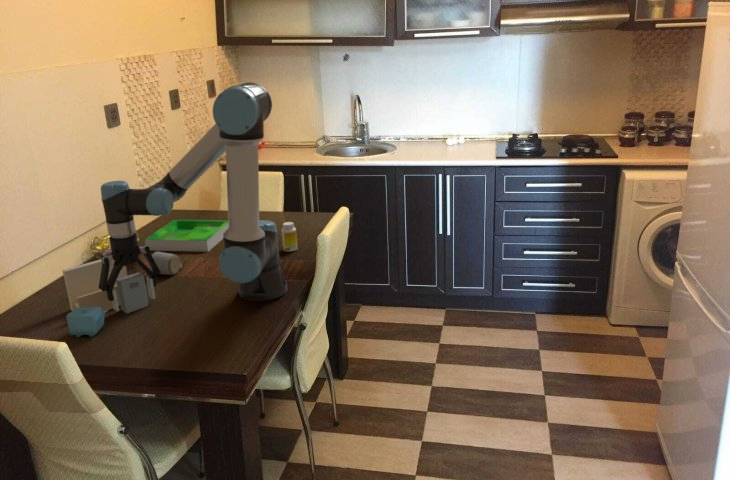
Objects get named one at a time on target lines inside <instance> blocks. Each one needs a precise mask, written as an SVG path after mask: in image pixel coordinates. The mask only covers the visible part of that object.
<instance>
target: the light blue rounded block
mask: <svg viewBox="0 0 730 480" xmlns="http://www.w3.org/2000/svg"><path fill="white" fill-rule="evenodd" d="M109 310H110V309H109ZM109 310H104V311H102V308H101V307H81V308H75V309H74V310H73V311H72V310H71V311H70V312H68V313H67V315H66V317H65V319H66V323H67V327H68V330H69V331H68V333H69V336H75V337H76V338H81V337H82V336H87V335H88V337H95V335H97V334H98V332H99V331H100V330H101V329H102V328H103V327H104V325H105V315H106V314H107V312H109Z"/></svg>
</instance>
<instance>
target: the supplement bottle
mask: <svg viewBox="0 0 730 480" xmlns="http://www.w3.org/2000/svg"><path fill="white" fill-rule="evenodd" d="M280 233H281V242H282V250H283V251H284V252H294V251H297V250H298V248H299V247H298V245H299V244H298V237H297V236H298V235H297V228H296V227H295V224H294V222H292V221H287V222H286V221H285V222H284V223H282V228H281V232H280Z"/></svg>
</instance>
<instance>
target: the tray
mask: <svg viewBox="0 0 730 480" xmlns="http://www.w3.org/2000/svg"><path fill="white" fill-rule="evenodd" d="M227 229H228V219H226V220H225V219H223V220H221V219H218V220H217V219H173V220H171V221H170V222H168V223H167V224H165V225H164V226H162V227H161V228H159V229H158V230H156V231H154V233H152V234H151V235H149V236H148V237H146V238H144V242H145V243H144V244H145V245H146V246H148V247H149V248H150V251H154V252H161V251H162V252H164V251H165V252H204V253H205V252H210V251H211V250H212V249H213V248H214V247H215V246H217V245H218V244H219V243H220V242H221V241H223V233H224V232H225V231H226V230H227Z"/></svg>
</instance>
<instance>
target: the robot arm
mask: <svg viewBox="0 0 730 480" xmlns="http://www.w3.org/2000/svg"><path fill="white" fill-rule="evenodd" d="M272 108H273V102H272V97H271V95H270V93H269V92H268V90H267V89H266V88H265V87H264V86H262V85H260V84H258V83H257V82H244V83H241V84H238V85H232V86H229V87H228V88H226V89H224V90H222V91H221V92H220V93H219V94H218V95H217V97H216V98H215V100H214V102H213V105H212V117H213V118H212V119H213V120H214V123H215V124H214V125H212V126H211V128H210V129H209V130H208V131H207V132H206V133H205V134H204V135H203V136H202V137H201V138H200V139H199V140H198V141H197V142H196V144H194V145H193V146H192V147H191V149H190V150H188V151H187V153H185V154H184V156H183V157H181V159H180V160H179V161H178V162H177V163H175V165H174V166H173V167H172V168H171V169H170V170H169V171H168V172H167V173H166V174H165V175H164V177H162V179H160V180H159V181H158V182H155V183H154V184H152V185H150V186H148V187H147V188H130V186H129V183H128V182H127V181H125V180H111V181H107V182H104V183H103V184H101V186H100V195H101V203H102V206H103V211H104V216H105V223H106V227H107V233H108V236H109V244H110V250H111V253H110V255H107V256H105V255H102V256H101V257H100V260H101V261H102V269H101V275H100V282H99V289H101V290H102V291H106V292H107V297H108V300H110V301H112V306H113V308H112V309H113V310H114V311H115V312H119V311H120V308H119V307H120V306H118V301H117V295H116V290H114V289H113V287H114V285H115V282H116V280H117V278H118V275H119V273H120V270H121V269H122V268H123V266H126V267H127V266H129V265H134V264H136V265H137V266H138V267H139V268H140V269H141V270H142V271H143V272H144V273H145V274H146V275H147V276H146V277H145V279H146V285H147V286H146V287H147V291H148V297H149V298H151V299H153V300H155V299H156V293H155V287H157V281H156V278H157V275H161V274H160V270H159V268H158V266H157V264H156V263H155V261H154V259H153V257H152V254H151V250H150V248H149V247H148V246H146V244H143V245H142V246H139V241H138V235H137V233H136V231H137V230H136V224H135V219H134V216H153V217H154V216H156V217H159V216H167V215H169V214H171V213H172V209H174V203H175V202H178V201H180V200H181V199H182V198H183V197H184V196H185V194H186V193H187V191H188V190H189V189H190V188H191V187H192V186H193V185H194V184H195V183H196V182H197V180H199V179H200V178H201V177H202V176H203V175H204V174H205V173H206V172H208V170H209V169H210V168H211V167H212V166H213V165H214V164H216V162H217V161H218V160H219V159H220V158H221V157H223V155H224V154H225V162H226V164H225V165H226V167H225V168H226V192H227V193H226V195H227V220H228V229H227V230H226V231H225V232H224V233H223V239H222V241H223V244H222V245H223V250H222V251H221V253H220V255H219V258H218V267H219V269H220V272H221V273H222V275H224V276H225V277H226V278H227V279H228V280H230V281H231V282H234V283H237V284H239V285H238V295H239V297H240V298H241V299H243V300H246V301H248V302H249V301H250V302H267V301H268V302H269V301H271V300H276V299H279V298H280V297H283V296H284V295H285V294H287V292H288V282H287V279H286V277H285V275H284V272H283V270H282V268H281V263H280V252H279V241H278V240H279V239H278V229H277V224H276V223H275V222H274V221H272V220H264V219H260V191H259V190H260V189H259V188H260V186H259V185H260V184H259V183H260V180H259V179H260V178H259V176H260V175H259V172H260V171H259V170H260V169H259V143H260V142H261V141H263V140H264V138H265V137H264V136H265V134H264V131H265V130H264V123H265V121H266V120H268V118H269V117H270V115H271V111H272ZM140 253H142V254H143V255H144V257H145V259H146V261H147V262H148V265H150V266H151V268H152V270H153V271H151V270H150V267H149V266H147V265H146V264H145V263H144V262H143V261H142V260H141V259H140V258H139V256H140ZM112 259H113V260H114V261H115V262H114V264H113V269H112V271H111V274H110V276H109V279H108V274H109V268H110V263H111V260H112Z"/></svg>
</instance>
